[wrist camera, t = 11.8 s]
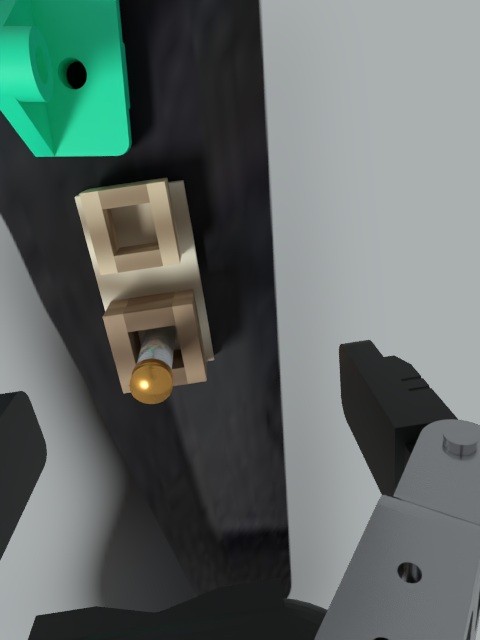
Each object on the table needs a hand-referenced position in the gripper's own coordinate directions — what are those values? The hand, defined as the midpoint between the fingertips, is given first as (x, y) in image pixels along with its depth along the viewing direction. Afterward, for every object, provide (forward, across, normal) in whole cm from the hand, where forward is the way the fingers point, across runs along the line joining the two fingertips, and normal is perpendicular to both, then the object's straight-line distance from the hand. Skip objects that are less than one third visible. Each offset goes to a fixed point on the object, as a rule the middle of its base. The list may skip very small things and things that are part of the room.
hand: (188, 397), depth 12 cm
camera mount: (+34, +8, -11) cm, 36 cm away
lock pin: (+32, +6, +12) cm, 35 cm away
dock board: (+33, +6, +7) cm, 34 cm away
